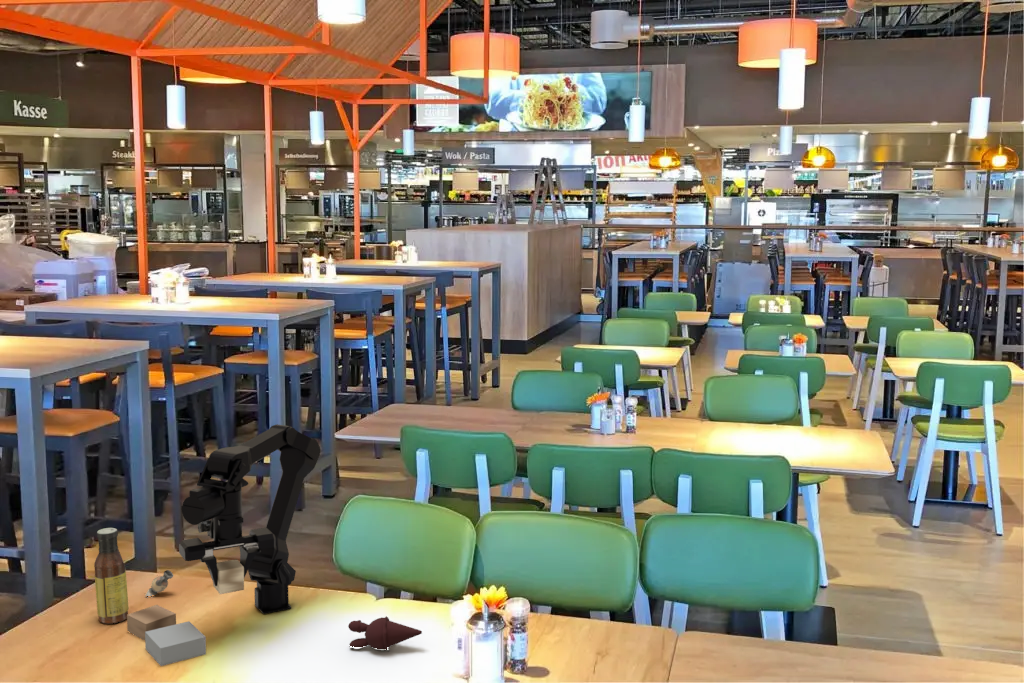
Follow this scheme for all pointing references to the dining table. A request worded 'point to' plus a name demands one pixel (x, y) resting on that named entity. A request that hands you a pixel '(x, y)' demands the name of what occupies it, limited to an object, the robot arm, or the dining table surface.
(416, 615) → the dining table surface
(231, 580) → the birch cube
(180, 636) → the slate block
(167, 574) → the vase
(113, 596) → the sauce bottle
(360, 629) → the icecream
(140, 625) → the walnut block
